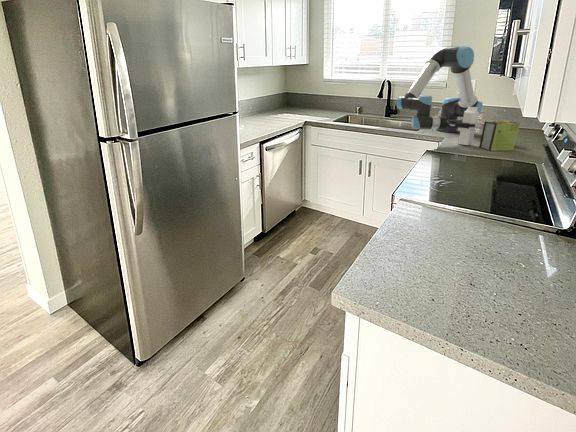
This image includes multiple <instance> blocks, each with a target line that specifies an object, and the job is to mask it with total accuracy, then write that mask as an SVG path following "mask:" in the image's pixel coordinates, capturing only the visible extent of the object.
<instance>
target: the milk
mask: <svg viewBox="0 0 576 432" xmlns="http://www.w3.org/2000/svg"><path fill="white" fill-rule="evenodd" d="M478 114H479V112H478V111H477V107H470V106H468V108H467V110H466V111H465V112H464V116H463V118H462V119H463V121H462V123H478V118H479V116H478ZM476 129H477V128H469V129H467V128H460V131H459V137H458V142H457V144H459V145H463V146H471V145H473V143H474V142H473V141H474V137H475V132H476Z"/></svg>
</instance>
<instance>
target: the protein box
mask: <svg viewBox="0 0 576 432" xmlns="http://www.w3.org/2000/svg"><path fill="white" fill-rule="evenodd" d="M520 125H521V123H520V122H516V121H511V120H507V119H506V120H486V121H484V124H483V127H482V128H483V129H482V133H481V137H480V140H479V141H480V142H479V148H481V149H484V150H487V151H490V152H491V151H492V152H497V151H499V152H500V151H514V148H515V144H516V141H517V138H518V137H517V136H518V132H519V130H520Z"/></svg>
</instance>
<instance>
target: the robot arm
mask: <svg viewBox="0 0 576 432" xmlns="http://www.w3.org/2000/svg"><path fill="white" fill-rule="evenodd" d="M474 59H475V53H474V49H472V47H470V46H466V45H465V46H464V45H463V46H444V47H441V48H439V49H437V50H436V51H435V52H434V53H433V54H431V55H430V57H428V59H427V61H426V62H425V66H424V67H423V69H422V70H421V72H420V73H419V75H418V76H417V78H415V80H414V81H413V83H412V85H411V86H410V87H409V89H408V90H407V92H406V93H405V95H403V96H399V97H398V98H397V99H396V103H395V105H396V108H398V109H400V110H403V111H404V110H405V111H413V112H416V115H413V117H412V118H411V123H410V124H411V128H412V129H416V130H431V131H434V130H435V131H438V132H444V133H457V132H459V128H460V129H461V128H467V129H469V128H476V129H480V128H481V124H482V123H481V122H477V123H462V121H463V116H464V112H465V111H466V110H467V108H468V106H470V107H477V111H478V112H479V114H478V117H479V116H480V114H481V112H482V110H483V102H482V101H480V100H479V99H478V97H477V96H476V95H475V93H474V88H473V82H472V81H473V80H472V76H471V71H470V69H471V68H472V65H473V64H474ZM441 68H450V72H451V73H452V74H454V78H455V83H456V87H457V93H458V97H446V98H444V99H443V100H442V105H441V110H440V111H441V112H440V116H435V115H434V116H432V115H431V109H432V104H433V103H432V102H433V96H432V95H423V94H422V93H423V91H424V90H425V88H426V87H427V85H429V82H430V81H431V80H432V78H433V77H434V75H435V74H436V73H437V72H439V71H440V69H441ZM421 94H422V95H421ZM430 115H431V116H430ZM458 118H462V119H458Z"/></svg>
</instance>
